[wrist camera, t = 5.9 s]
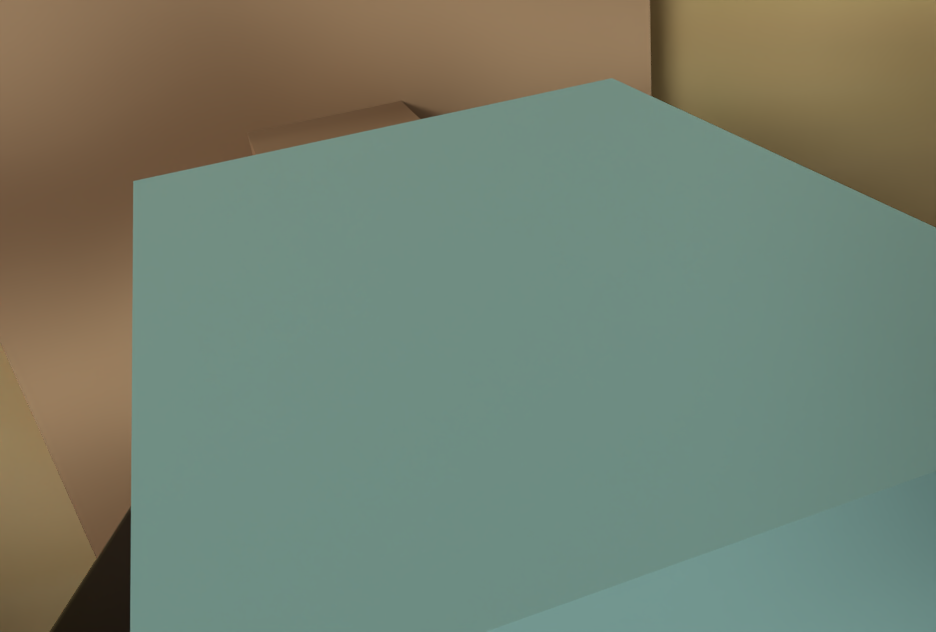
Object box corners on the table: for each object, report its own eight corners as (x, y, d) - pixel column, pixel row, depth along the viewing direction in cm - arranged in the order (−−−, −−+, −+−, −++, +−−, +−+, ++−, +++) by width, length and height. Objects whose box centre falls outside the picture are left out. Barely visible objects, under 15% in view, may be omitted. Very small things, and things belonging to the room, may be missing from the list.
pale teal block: (625, 446, 12) (1024, 925, 7) (257, 564, 11) (377, 1258, 6) (612, 77, 10) (1233, 363, 4) (133, 180, 9) (127, 758, 3)
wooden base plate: (639, 434, 21) (833, 657, 15) (126, 596, 19) (121, 941, 13) (618, -411, 13) (1001, -624, 7) (-283, -341, 11) (-805, -584, 5)
